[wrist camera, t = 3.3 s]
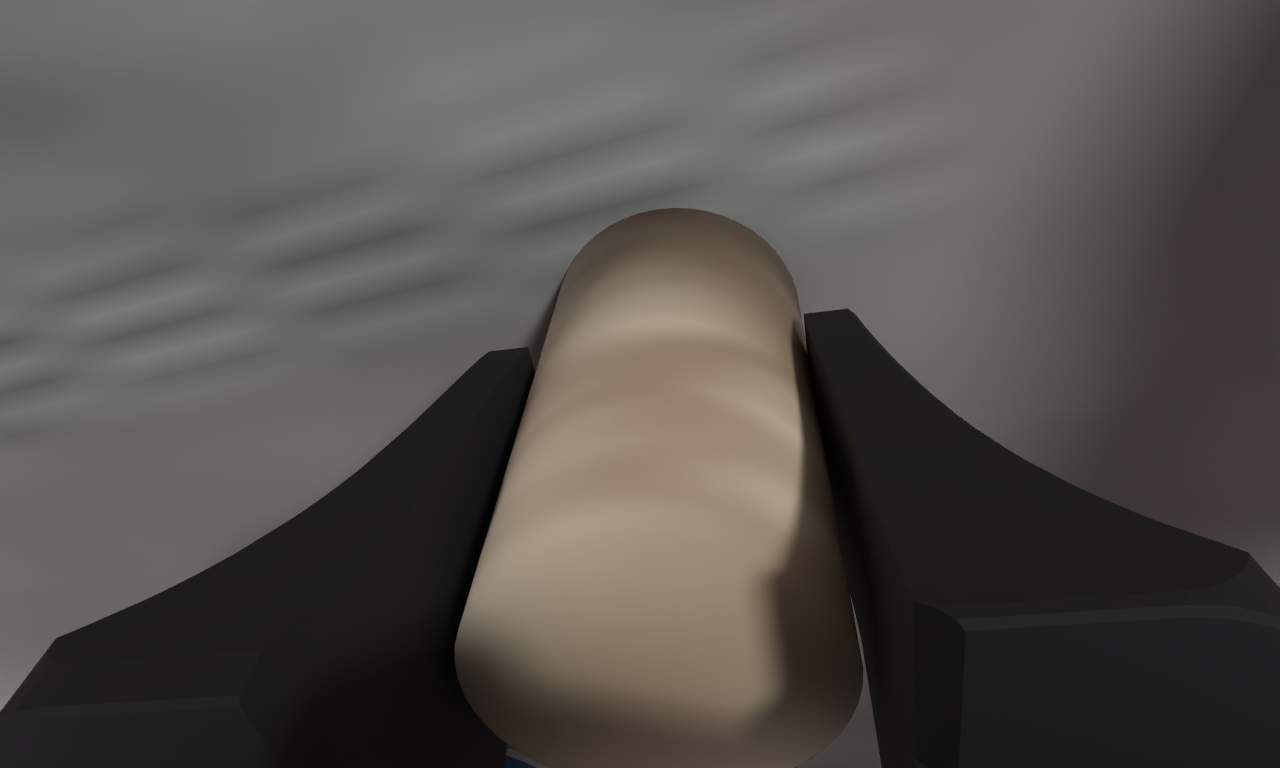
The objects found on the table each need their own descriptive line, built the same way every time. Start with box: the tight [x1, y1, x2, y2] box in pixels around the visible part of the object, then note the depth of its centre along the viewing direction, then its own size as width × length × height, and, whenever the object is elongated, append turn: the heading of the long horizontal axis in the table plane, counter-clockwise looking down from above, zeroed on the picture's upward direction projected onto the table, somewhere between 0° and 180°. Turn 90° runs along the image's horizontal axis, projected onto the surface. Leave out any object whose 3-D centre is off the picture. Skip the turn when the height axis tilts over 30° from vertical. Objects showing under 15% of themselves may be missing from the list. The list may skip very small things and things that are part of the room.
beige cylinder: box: [455, 208, 863, 768], centre depth 11 cm, size 4×4×7 cm
